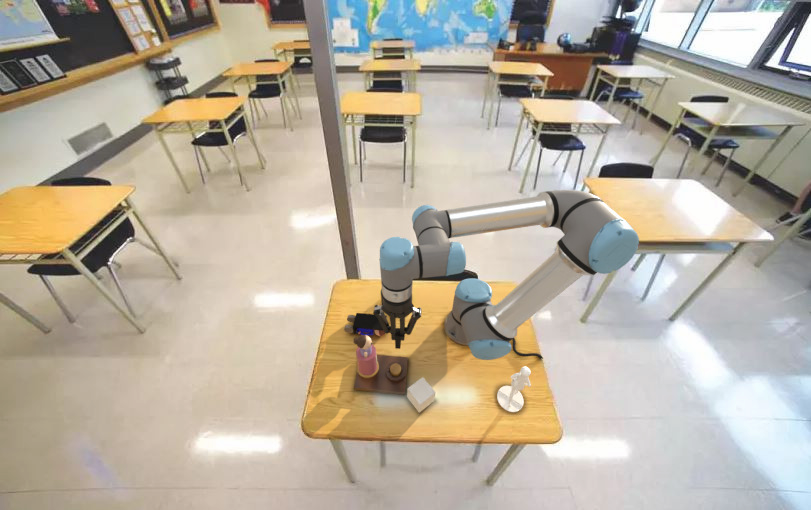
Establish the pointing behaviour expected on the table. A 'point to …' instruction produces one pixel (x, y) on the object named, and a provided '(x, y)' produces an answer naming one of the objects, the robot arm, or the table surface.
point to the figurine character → (364, 324)
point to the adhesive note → (421, 394)
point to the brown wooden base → (385, 377)
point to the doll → (366, 357)
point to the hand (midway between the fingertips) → (398, 344)
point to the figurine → (514, 391)
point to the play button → (395, 369)
